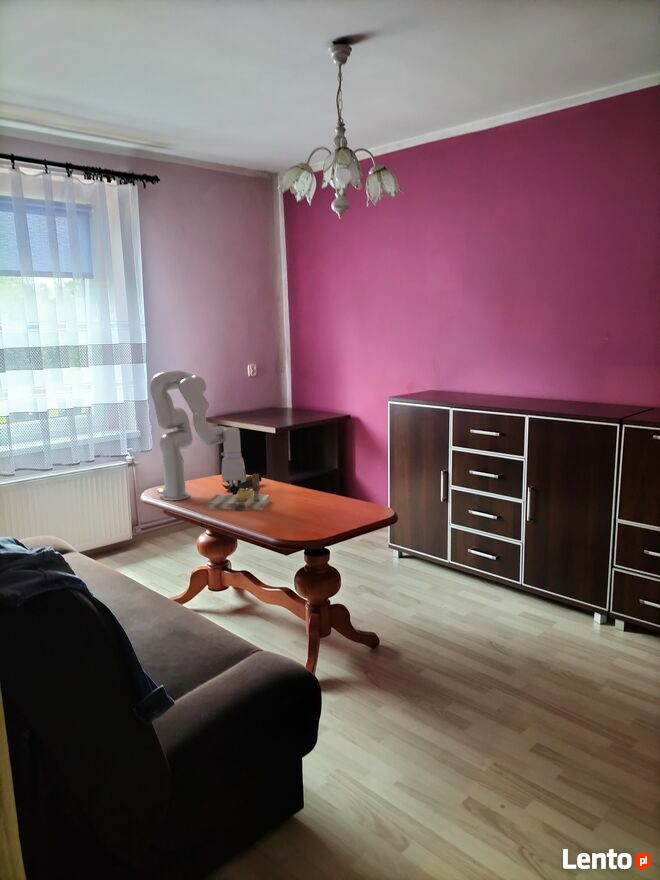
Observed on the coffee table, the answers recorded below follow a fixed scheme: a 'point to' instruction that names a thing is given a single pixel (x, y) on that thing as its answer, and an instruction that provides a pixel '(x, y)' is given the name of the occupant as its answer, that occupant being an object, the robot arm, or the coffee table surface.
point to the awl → (256, 486)
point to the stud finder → (245, 493)
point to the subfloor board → (238, 502)
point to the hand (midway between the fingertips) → (235, 494)
